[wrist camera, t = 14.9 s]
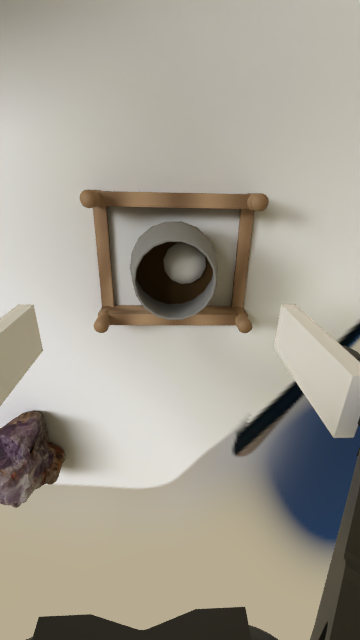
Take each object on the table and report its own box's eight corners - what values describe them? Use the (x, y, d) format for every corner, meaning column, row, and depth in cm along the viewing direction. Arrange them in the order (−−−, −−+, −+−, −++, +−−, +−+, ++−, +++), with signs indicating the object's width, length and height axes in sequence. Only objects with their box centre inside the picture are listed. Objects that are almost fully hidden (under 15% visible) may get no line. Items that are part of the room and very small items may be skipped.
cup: (198, 206, 33) (209, 210, 24) (221, 281, 37) (239, 310, 27) (121, 235, 34) (104, 251, 25) (151, 305, 38) (145, 341, 28)
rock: (56, 402, 45) (-9, 410, 45) (32, 438, 37) (-49, 447, 36) (71, 466, 48) (9, 473, 48) (51, 512, 40) (-24, 521, 39)
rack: (103, 315, 38) (94, 332, 33) (91, 190, 32) (78, 189, 27) (241, 316, 39) (251, 333, 34) (255, 193, 33) (269, 193, 28)
